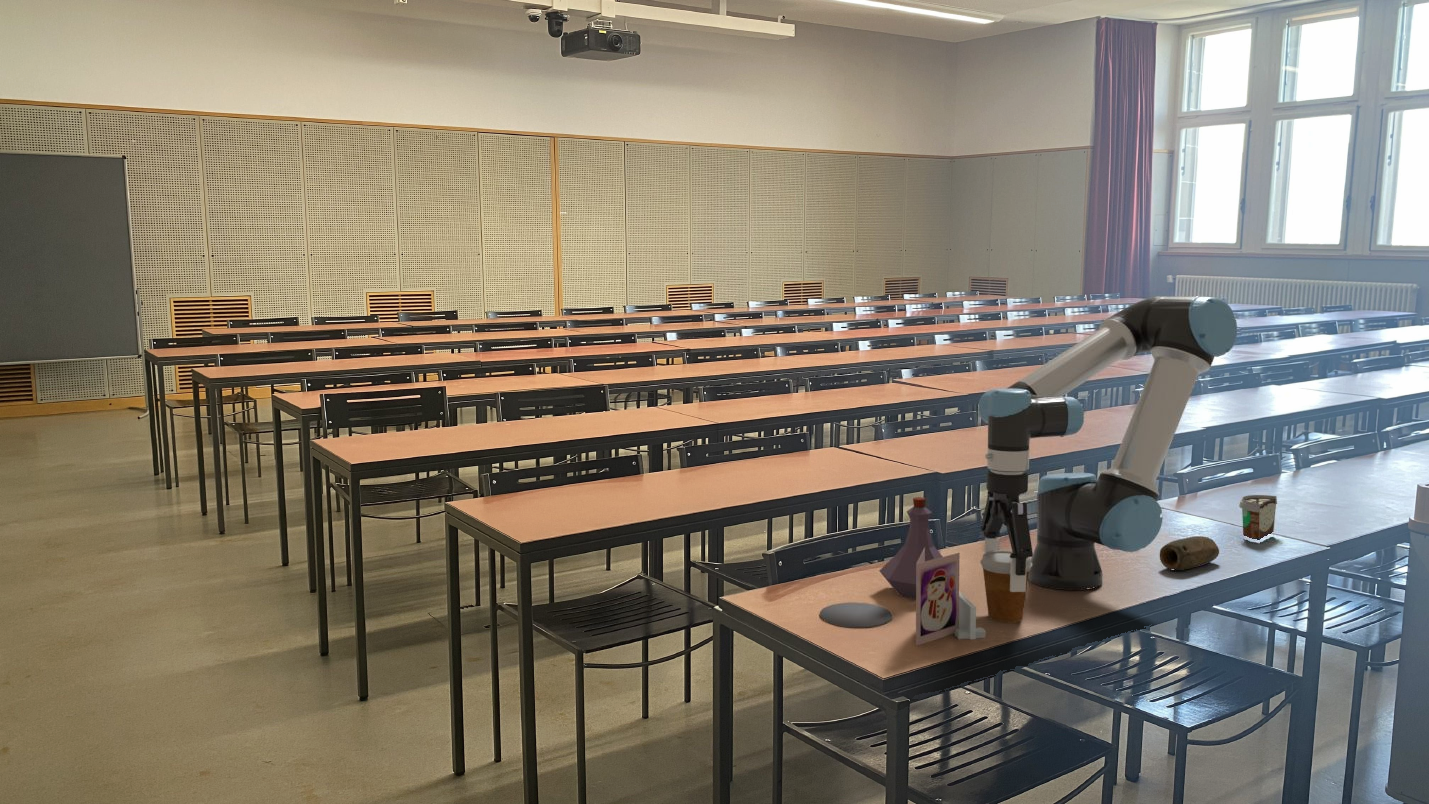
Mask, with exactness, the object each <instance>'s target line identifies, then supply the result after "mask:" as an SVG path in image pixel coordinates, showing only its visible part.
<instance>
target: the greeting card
mask: <svg viewBox="0 0 1429 804" xmlns="http://www.w3.org/2000/svg"><path fill="white" fill-rule="evenodd" d="M960 554H961V553H960V552H957V553H953V554H949V555H945V556H943V557H941V558H937V559H933V560H929V561H926V562H925V548H924V550H923V552H922V554H921V556H920V557H919V559H918V561H917V563H916V600H915V646H920V645H923V644H926V643H929V642H932V641H934V640H938V639H941V638H944V637H947V636H950V635H953V634H955V629H960V628H959V591H960V558H961V557H960Z"/></svg>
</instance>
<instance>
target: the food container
mask: <svg viewBox="0 0 1429 804" xmlns="http://www.w3.org/2000/svg"><path fill="white" fill-rule="evenodd" d="M1277 497H1278V496H1277V495H1270V494H1269V495H1267V494H1249V495H1244V496H1242V497H1241V499H1240V500H1239V501H1240V502H1239V504H1238V505H1239V506H1238V507H1239V508H1241V515H1242V535H1244V536H1247V537H1249V538H1252V539H1257V540H1260V539H1261V538H1263V537H1264V536H1267V535H1268V534H1271V533H1272V532H1274V530H1275V523H1276V522H1275V521H1276V520H1275V518H1276V510H1277V509H1276V508H1277V507H1276V506H1277V504H1278V498H1277ZM1274 533H1275V532H1274Z"/></svg>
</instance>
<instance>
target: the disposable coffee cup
mask: <svg viewBox="0 0 1429 804" xmlns="http://www.w3.org/2000/svg"><path fill="white" fill-rule="evenodd" d="M1012 553H1013V552H1012V550H999V551H990V552H986V553H985V552H984V553H983V554H982V558H981V560H980V565H981V567H982V571H983V573H982V574H983V580H984V581H983V582H984V589H985V597H986V598H985V599H986V605H987V606H986V607H987V615H988V618H989V619H990V620H993V621H995V622H998V621H999V623H1005V622H1007V623H1008V622H1013V623H1017V622H1020V621H1022V620H1023V618H1024V617H1023V616H1024V610H1025V609H1024V608H1025V603H1026V598H1027V589H1028V583H1029V579H1028V578H1029V571H1030V570H1031V567H1032V563H1031V561H1030V560H1031V557H1028V558H1027V567H1026V592H1011V591H1010V570H1011V558H1010V555H1011V554H1012ZM1007 623H1006V624H1007Z"/></svg>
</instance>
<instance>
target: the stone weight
mask: <svg viewBox="0 0 1429 804" xmlns="http://www.w3.org/2000/svg"><path fill="white" fill-rule="evenodd" d="M1219 555H1220V549H1219V546H1218V544H1217V543H1216V542H1215V541H1214V540H1213V538H1210V537H1207V536H1202V535H1199V536H1198V535H1196V536H1191V537H1189V536H1188V537H1183V538H1179V539H1175V540H1173V541H1169V542H1168V543H1166V544H1165V545H1163V546H1162V547H1161V548H1160V550H1159V561H1160V563H1161V565H1163V566H1164V567H1165V568H1167V569H1168V568H1170V569H1174V570H1180V571H1183V570H1182V569H1186V570H1189V569H1188V568H1190V569H1193V568H1192V567H1194V568H1196V566H1197V567H1200V566H1199V565H1201V566H1203V565H1202V564H1204V565H1207V564H1209V563H1211V562H1213V561H1214V560H1216V559H1217V558H1218V556H1219ZM1206 563H1207V564H1206ZM1170 569H1169V570H1170Z"/></svg>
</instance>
